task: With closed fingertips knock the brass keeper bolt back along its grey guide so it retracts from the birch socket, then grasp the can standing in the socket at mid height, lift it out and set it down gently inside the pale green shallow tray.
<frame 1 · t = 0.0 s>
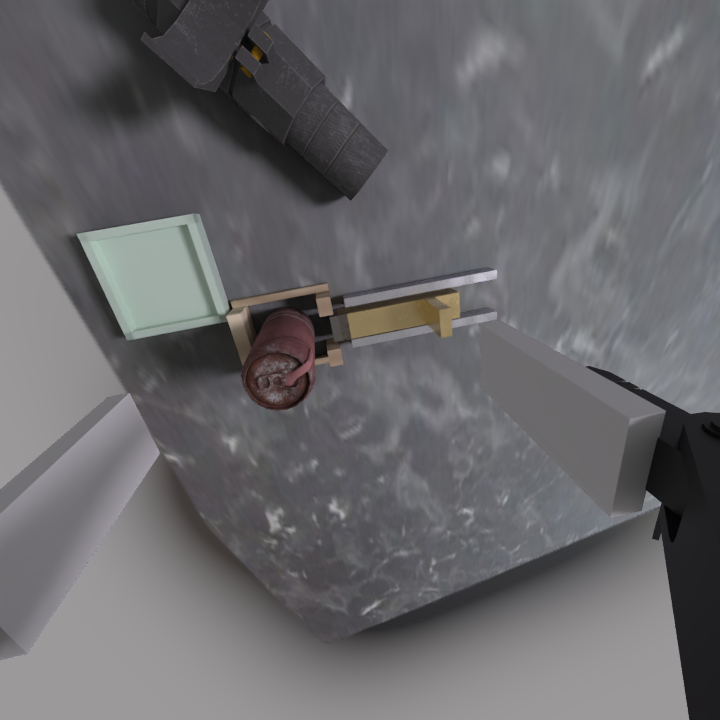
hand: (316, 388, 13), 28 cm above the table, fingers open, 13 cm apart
pale green shallow tray: (166, 277, 36), on the table
keeper bolt: (398, 319, 37), point 4 cm above the table, slide at 0.0 cm
socket: (290, 330, 40), on the table
can: (290, 329, 41), resting in socket
laser sight: (273, 93, 32), on the table
keeper guide: (418, 305, 41), on the table
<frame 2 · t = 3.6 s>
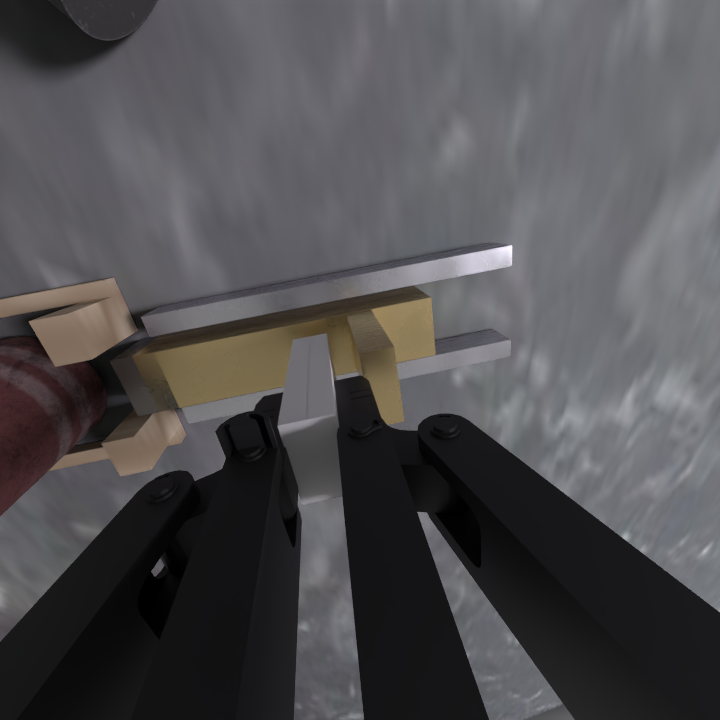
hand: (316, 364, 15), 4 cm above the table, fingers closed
keeper bolt: (280, 366, 15), point 4 cm above the table, slide at 0.5 cm, touching gripper
socket: (51, 384, 18), on the table
can: (54, 383, 18), resting in socket
keeper guide: (340, 327, 19), on the table
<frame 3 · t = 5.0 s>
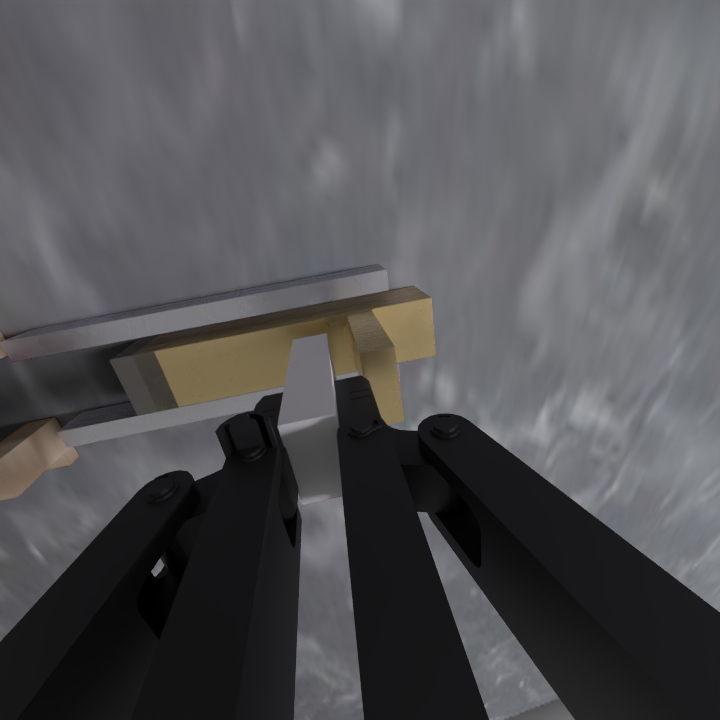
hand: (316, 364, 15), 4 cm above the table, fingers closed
keeper bolt: (280, 365, 15), point 4 cm above the table, slide at 6.8 cm, touching gripper
keeper guide: (228, 348, 19), on the table
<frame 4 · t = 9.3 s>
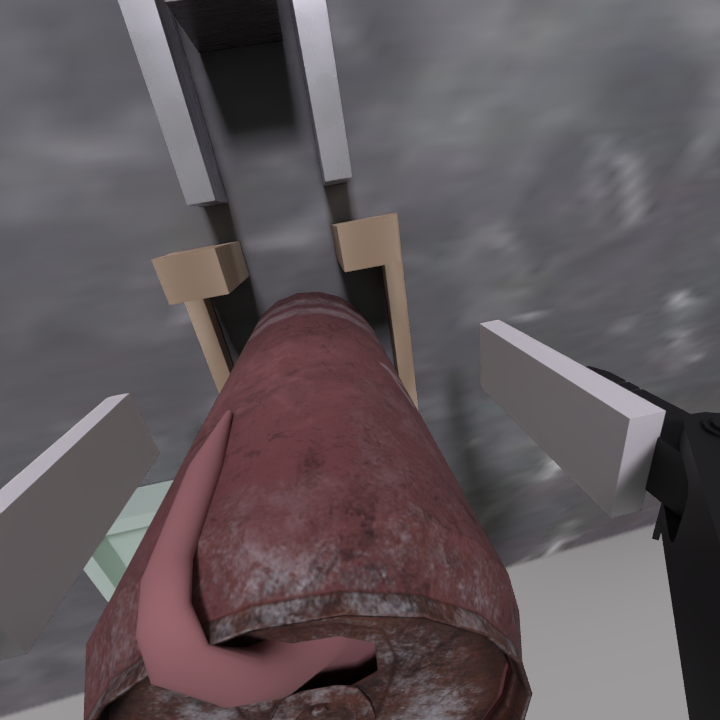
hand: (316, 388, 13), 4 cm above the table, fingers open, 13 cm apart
pale green shallow tray: (218, 544, 21), on the table
socket: (312, 348, 17), on the table
can: (312, 347, 17), resting in socket
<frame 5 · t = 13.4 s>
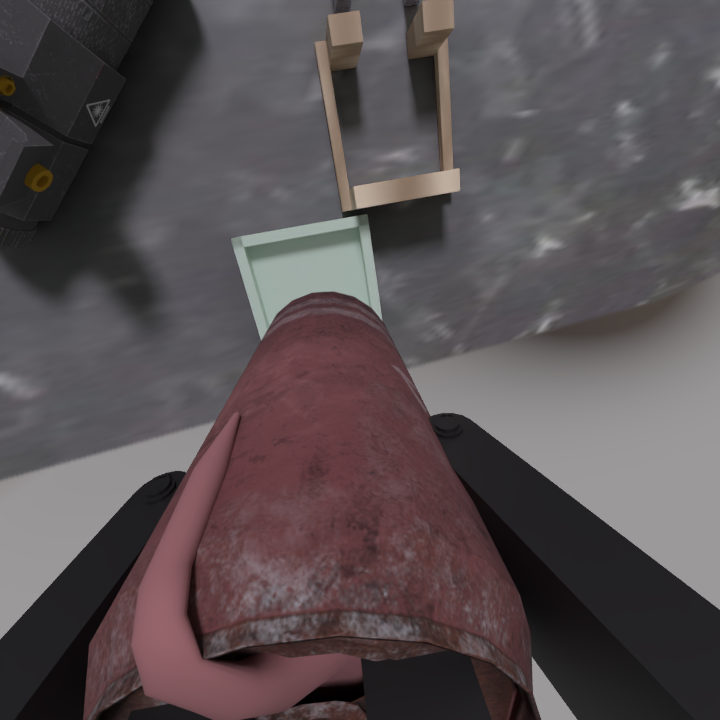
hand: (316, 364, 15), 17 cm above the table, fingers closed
pale green shallow tray: (314, 289, 31), on the table
socket: (388, 126, 27), on the table
can: (326, 346, 17), point 15 cm above the table, touching hand
laser sight: (73, 100, 24), on the table
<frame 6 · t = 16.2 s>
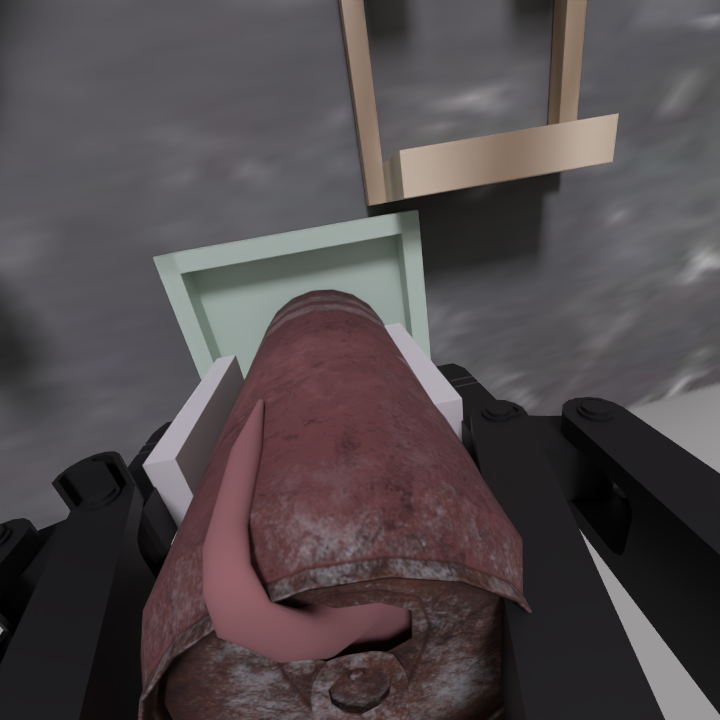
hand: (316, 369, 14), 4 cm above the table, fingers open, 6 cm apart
pale green shallow tray: (316, 339, 18), on the table
socket: (460, 40, 14), on the table
can: (325, 343, 17), point 1 cm above the table, touching pale green shallow tray
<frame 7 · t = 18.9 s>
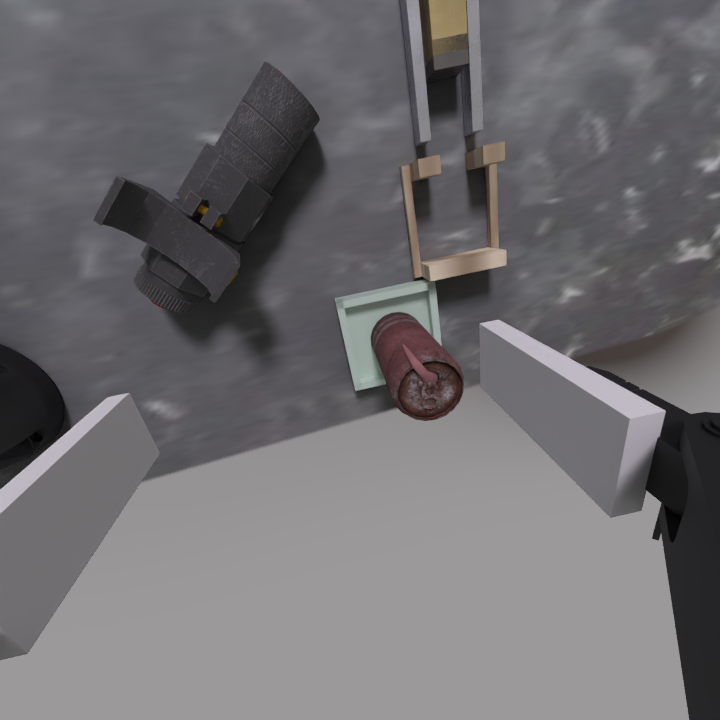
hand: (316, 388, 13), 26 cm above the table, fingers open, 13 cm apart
pale green shallow tray: (389, 333, 40), on the table
socket: (450, 216, 36), on the table
can: (394, 334, 40), point 1 cm above the table, touching pale green shallow tray
laser sight: (230, 207, 34), on the table
keeper guide: (435, 21, 29), on the table
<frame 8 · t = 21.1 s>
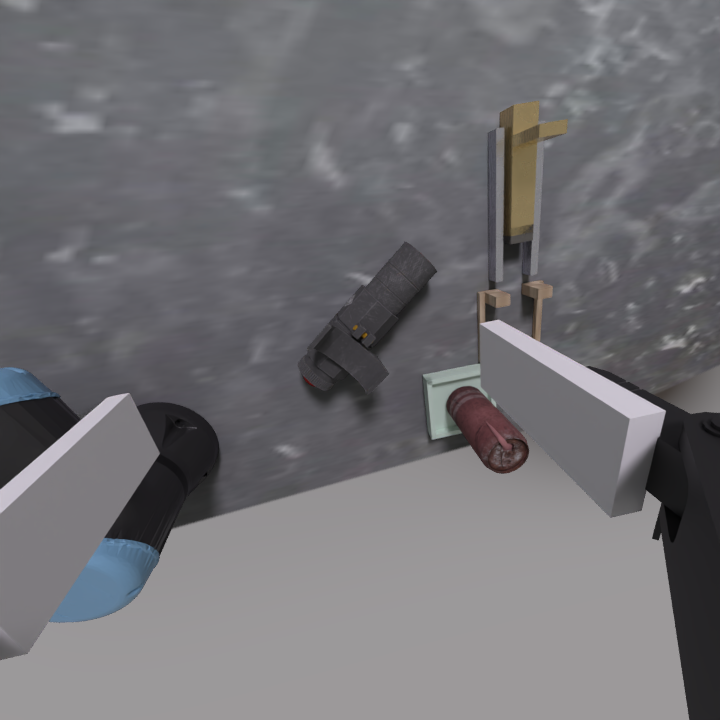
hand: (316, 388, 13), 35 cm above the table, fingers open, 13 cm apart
pale green shallow tray: (457, 397, 55), on the table
keeper bolt: (528, 176, 40), point 4 cm above the table, slide at 6.8 cm
socket: (508, 321, 51), on the table
can: (462, 399, 55), point 1 cm above the table, touching pale green shallow tray
laser sight: (359, 315, 48), on the table
keeper guide: (510, 208, 45), on the table
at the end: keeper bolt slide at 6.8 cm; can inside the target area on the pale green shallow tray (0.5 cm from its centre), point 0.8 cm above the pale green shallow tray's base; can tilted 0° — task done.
